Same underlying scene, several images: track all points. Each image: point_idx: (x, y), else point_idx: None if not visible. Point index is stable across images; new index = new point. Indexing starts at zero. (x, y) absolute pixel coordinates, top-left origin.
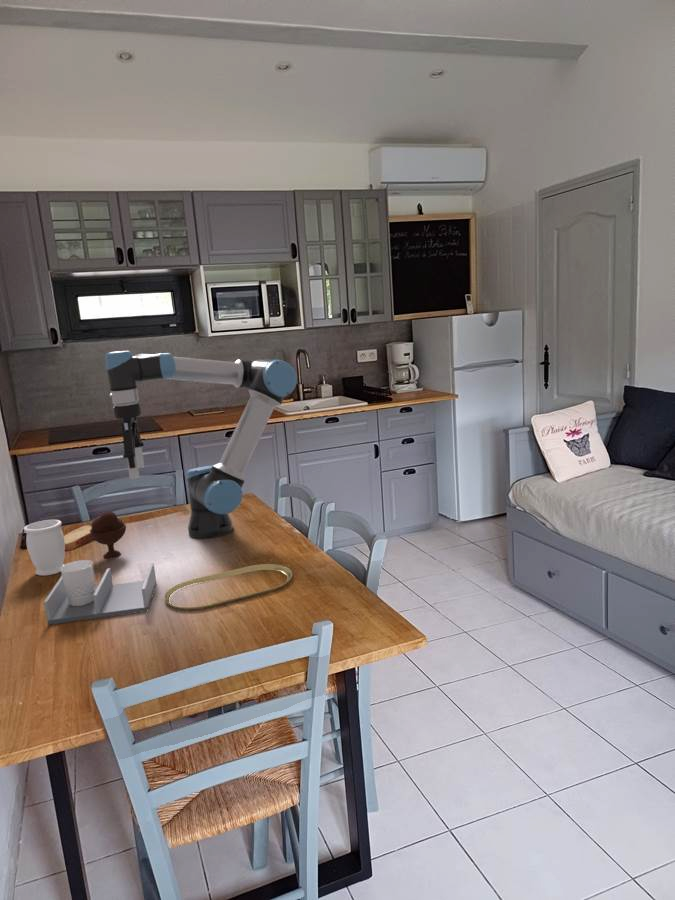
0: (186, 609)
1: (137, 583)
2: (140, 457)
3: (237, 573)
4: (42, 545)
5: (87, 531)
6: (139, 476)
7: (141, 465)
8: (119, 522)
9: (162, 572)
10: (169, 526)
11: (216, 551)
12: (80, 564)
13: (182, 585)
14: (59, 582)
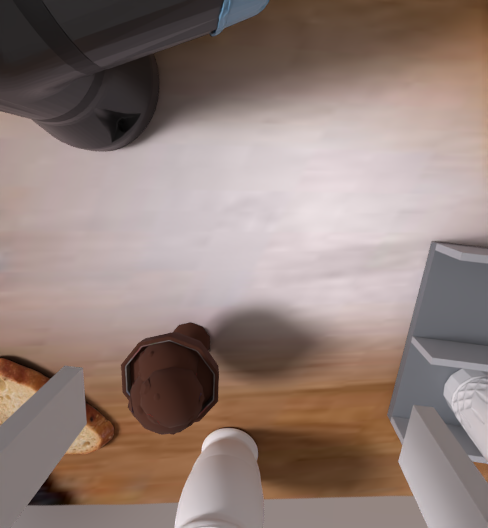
0: None
1: (438, 284)
2: (22, 451)
3: None
4: (263, 521)
5: (19, 403)
6: (419, 410)
7: (74, 397)
8: (176, 359)
9: (366, 227)
10: (12, 205)
11: (281, 73)
12: (486, 439)
13: None
14: None
